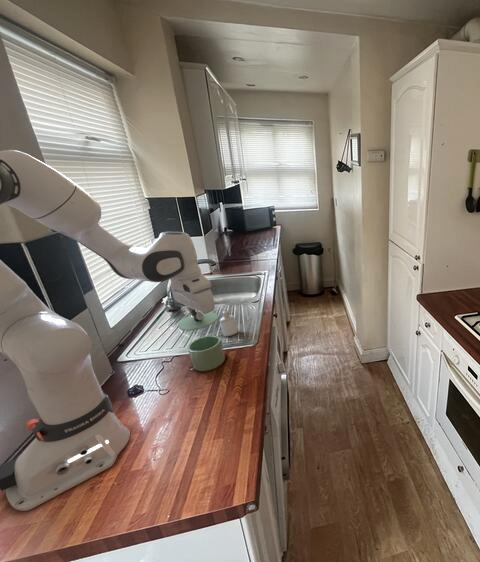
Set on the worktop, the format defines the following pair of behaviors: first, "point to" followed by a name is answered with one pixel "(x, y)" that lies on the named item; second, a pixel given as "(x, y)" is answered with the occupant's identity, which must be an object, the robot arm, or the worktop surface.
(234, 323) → the eye dropper bottle
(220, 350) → the pot
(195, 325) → the lid
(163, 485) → the worktop surface
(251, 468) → the worktop surface
